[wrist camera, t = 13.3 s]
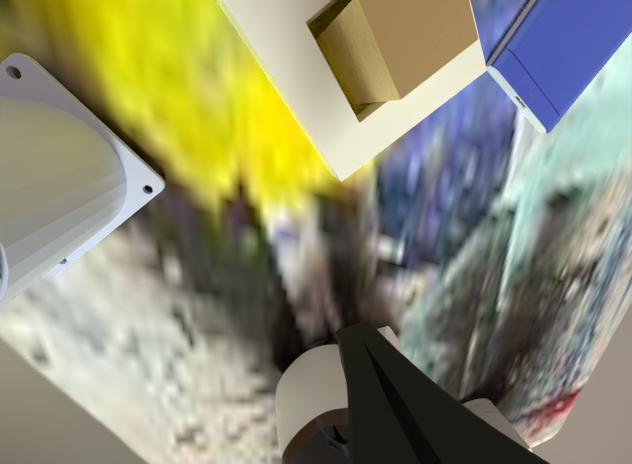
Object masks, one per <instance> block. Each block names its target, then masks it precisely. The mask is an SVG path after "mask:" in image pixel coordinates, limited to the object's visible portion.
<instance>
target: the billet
mask: <svg viewBox="0 0 632 464" xmlns="http://www.w3.org/2000/svg"><path fill="white" fill-rule="evenodd" d="M316 40H317V42H318V44H319V46H320V47H321V49H322V51H323V53H324V55H325V57H326V59H327V61H328V62H329V64H330V66H331V68H332V70H333V72H334V74H335V76H336V77H337V79H338V81H339V83H340V85H341V87H342V89H343V91H344V92H345V94H346V96H347V98H348V100H349V102H350V104H361V103H372V102H382V101H393V100H401V99H403V98H404V97H405V96H406V95H408V94H409V93H410V92H411V91H413V90H414V89H415V88H417V87H418V86H419V85H420V84H422V83H423V82H424V81H426V80H427V79H428V78H429V77H431V76H432V75H433V74H435V73H436V72H437V71H438V70H440V69H441V68H442V67H443V66H445V65H446V64H447V63H449V62H450V61H451V60H452V59H454V58H455V57H456V56H458V55H459V54H460V53H461V52H463V51H464V50H465V49H467V48H468V47H469V46H470V45H472V44H473V43H474V42H475V41H477V40H478V35H477V31H476V27H475V22H474V18H473V14H472V10H471V6H470V2H469V0H352V1H351V2H350V3H349V4H348V5H347V6H346V7H345V8H344V9H343V10H342V12H341V13H340V14H339V15H338V16H337V17H336V18H335V19H334V20H333V21H332V23H331V24H330V25H329V26H328V27H327V28H326V29H325V30H324V31H323V32H322V34H321V35H320V36H319V37H318V38H317V39H316Z"/></svg>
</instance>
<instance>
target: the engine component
mask: <svg viewBox="0 0 632 464" xmlns="http://www.w3.org/2000/svg"><path fill="white" fill-rule="evenodd" d="M462 405H464V406H465V407H466V408H468V409H469V410H470V411H472V412H473V413H474V414H476V415H477V416H479V417H480V418H482V419H483V420H484V421H486V422H487V423H489V424H490V425H491V426H493V427H494V428H496V429H497V430H499V431H500V432H502V433H503V434H505V435H506V436H508V437H509V438H511V439H512V440H514V441H516V442H517V443H519V444H520V445H522V446H523V447H525V448H526V449H528V450H529V451H531V452H532V450H531V448H530V447H529V446H528V445H527V443H526V442H525V441H524V440H523V439H522V438H521V436H520V435H519V434H518V433H517V432H516V430H515V429H514V428H513V427H512V426H511V425H510V423H509V422H508V421H507V420H506V419H505V417H504V416H503V415H502V414H501V413H500V412H499V411H498V409H497V408H496V407H495V406H494V404H493V403H492V402H491V401H490V400H488V399H484V398H481V399H475V400H471V401H469V402H466V403H464V404H462Z"/></svg>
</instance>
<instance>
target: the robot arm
mask: <svg viewBox="0 0 632 464" xmlns="http://www.w3.org/2000/svg"><path fill="white" fill-rule="evenodd" d="M14 68H17V69H18V70H19V71H20V72H21V78H20V79H18V78H16V76H15V75H14V73H13V70H14ZM146 185H149V186H151V187H152V189H153V192H148V191H147V190H146V189H145V186H146ZM164 188H165V181H164V179H163V178H162V177H161V176H160V175H159V174H158V173H157V172H156V171H154V170H153V169H152V168H151V167H150V166H149V165H148V164H147V163H146V162H145V161H144V160H143V159H142V158H140V157H139V156H138V155H137V154H136V153H135V152H134V151H133V150H132V149H131V148H130V147H129V146H127V145H126V144H125V143H124V142H123V141H122V140H121V139H120V138H119V137H118V136H117V135H116V134H115V133H113V132H112V131H111V130H110V129H109V128H108V127H107V126H106V125H105V124H104V123H103V122H102V121H101V120H99V119H98V118H97V117H96V116H95V115H94V114H93V113H92V112H91V111H90V110H89V109H88V108H87V107H85V106H84V105H83V104H82V103H81V102H80V101H79V100H78V99H77V98H76V97H75V96H74V95H72V94H71V93H70V92H69V91H68V90H67V89H66V88H65V87H64V86H63V85H62V84H61V83H60V82H58V81H57V80H56V79H55V78H54V77H53V76H52V75H51V74H50V73H49V72H48V71H47V70H46V69H44V68H43V67H42V66H41V65H40V64H39V63H38V62H37V61H36V60H35V59H33V58H32V57H30V56H28V55H25V54H22V53H12V54H10V55H9V56H8V57H7V58H6V59H5V60H3V61H2V62H1V63H0V309H1V308H2V307H4V306H5V305H6V304H8V303H9V302H10V301H11V300H13V299H14V298H15V297H16V296H18V295H19V294H20V293H22V292H23V291H24V290H25V289H27V288H28V287H29V286H30V285H32V284H33V283H34V282H36V281H37V280H38V279H39V278H41V277H42V276H43V275H46V276H51V277H53V276H57V275H59V274H60V273H61V272H62V271H64V270H65V269H66V268H67V267H68V266H70V265H71V264H72V263H73V262H75V261H76V260H77V259H78V258H80V257H81V256H82V255H83V254H84V253H86V252H87V251H88V250H89V249H91V248H92V247H93V246H94V245H96V244H97V243H98V242H99V241H100V240H102V239H103V238H104V237H105V236H107V235H108V234H109V233H110V232H112V231H113V230H114V229H115V228H116V227H118V226H119V225H120V224H121V223H123V222H124V221H125V220H126V219H128V218H129V217H130V216H131V215H132V214H134V213H135V212H136V211H137V210H139V209H140V208H141V207H142V206H144V205H145V204H146V203H147V202H148V201H150V200H151V199H152V198H153V197H155V196H156V195H157V194H158V193H159V192H161V191H162V190H163V189H164ZM64 259H66V260H67V261H64ZM336 335H337V341H338V347H339V353H340V359H341V364H342V367H343V371H344V375H345V379H346V385H347V399H348V419H349V464H550V463H548V462H547V461H545V460H543V459H541V458H540V457H539V456H537V455H536V454H534V453H532V452H531V451H529V450H528V449H526V448H525V447H523V446H522V445H520V444H519V443H517V442H516V441H514V440H512V439H511V438H509V437H508V436H506V435H505V434H503V433H502V432H500V431H499V430H497V429H496V428H494V427H493V426H491V425H490V424H489V423H487V422H486V421H484V420H483V419H482V418H480V417H479V416H477V415H476V414H474V413H473V412H472V411H470V410H469V409H468V408H466V407H465V406H464V405H462V404H461V403H460V402H458V401H457V400H456V399H454V398H453V397H452V396H451V395H449V394H448V393H447V392H445V391H444V390H443V389H442V388H441V387H439V386H438V385H437V384H436V383H434V382H433V381H432V380H431V379H430V378H428V377H427V376H426V375H425V374H424V373H423V372H421V371H420V370H419V369H418V368H417V367H416V366H415V365H414V364H412V363H411V362H410V361H409V360H408V359H407V358H406V357H405V356H404V355H403V354H402V353H400V352H399V351H398V350H397V349H396V348H395V347H394V346H393V345H392V344H391V343H390V342H389V341H388V340H387V339H386V338H385V337H384V336H383V335H382V334H381V333H380V332H379V331H378V329H377V328H376V327H375V326H374V325H373V324H372V323H371V322H370V321H365V322H362V323H359V324H355V325H352V326H349V327H345V328H342V329H339V330H338V331H337V332H336Z"/></svg>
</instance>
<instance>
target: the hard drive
mask: <svg viewBox="0 0 632 464" xmlns="http://www.w3.org/2000/svg"><path fill="white" fill-rule="evenodd" d="M631 32H632V0H530V1H529V3H528V4H527V6H526V7H525V9H524V10H523V12H522V13H521V15H520V16H519V17H518V19H517V20H516V22H515V23H514V25H513V26H512V28H511V29H510V31H509V32H508V34H507V35H506V36H505V38H504V39H503V41H502V42H501V44H500V45H499V47H498V48H497V50H496V51H495V52H494V54H493V55H492V57H491V58H490V60H489V61H488V63H487V64H486V69H487V71H488V72H489V73H490V74H491V75H492V77H493V78H494V79H495V80H496V81H497V83H498V84H499V85H500V86H501V87H502V89H503V90H504V91H505V92H506V93H507V94H508V96H509V97H510V98H511V99H512V101H513V102H514V103H515V104H516V105H517V106H518V108H519V109H520V110H521V111H522V112H523V114H524V115H525V116H526V117H527V118H528V120H529V121H530V122H531V123H532V124H533V126H534V127H535V128H536V129H537V130H538V132H541V133H549V132H551V130H552V129H553V128H554V127H555V125H556V124H557V123H558V122H559V121H560V119H561V118H562V116H563V115H564V114H565V113H566V111H567V110H568V109H569V108H570V106H571V105H572V104H573V103H574V102H575V100H576V99H577V98H578V97H579V96H580V94H581V93H582V92H583V91H584V89H585V88H586V87H587V86H588V84H589V83H590V82H591V81H592V80H593V78H594V77H595V76H596V75H597V73H598V72H599V71H600V70H601V69H602V68H603V66H604V65H605V64H606V63H607V61H608V60H609V59H610V58H611V56H612V55H613V54H614V53H615V52H616V50H617V49H618V48H619V47H620V46H621V44H622V43H623V42H624V41H625V39H626V38H627V37H628V36H629V34H630V33H631Z"/></svg>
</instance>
